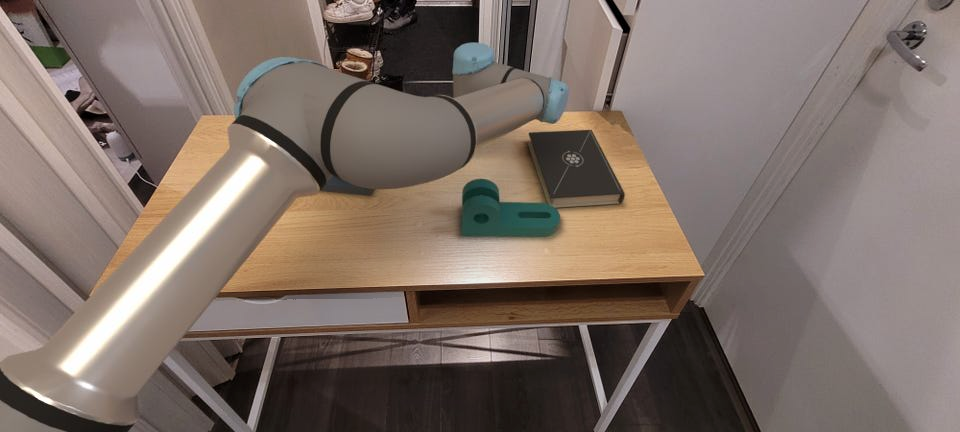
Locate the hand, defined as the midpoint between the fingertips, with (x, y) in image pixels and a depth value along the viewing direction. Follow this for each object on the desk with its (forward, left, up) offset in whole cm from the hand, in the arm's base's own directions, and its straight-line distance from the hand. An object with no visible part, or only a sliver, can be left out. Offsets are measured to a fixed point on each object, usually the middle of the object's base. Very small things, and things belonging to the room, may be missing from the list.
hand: (302, 141), depth 87 cm
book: (+53, +9, -9) cm, 54 cm away
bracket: (+41, -8, -9) cm, 42 cm away
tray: (+4, +3, -9) cm, 10 cm away
